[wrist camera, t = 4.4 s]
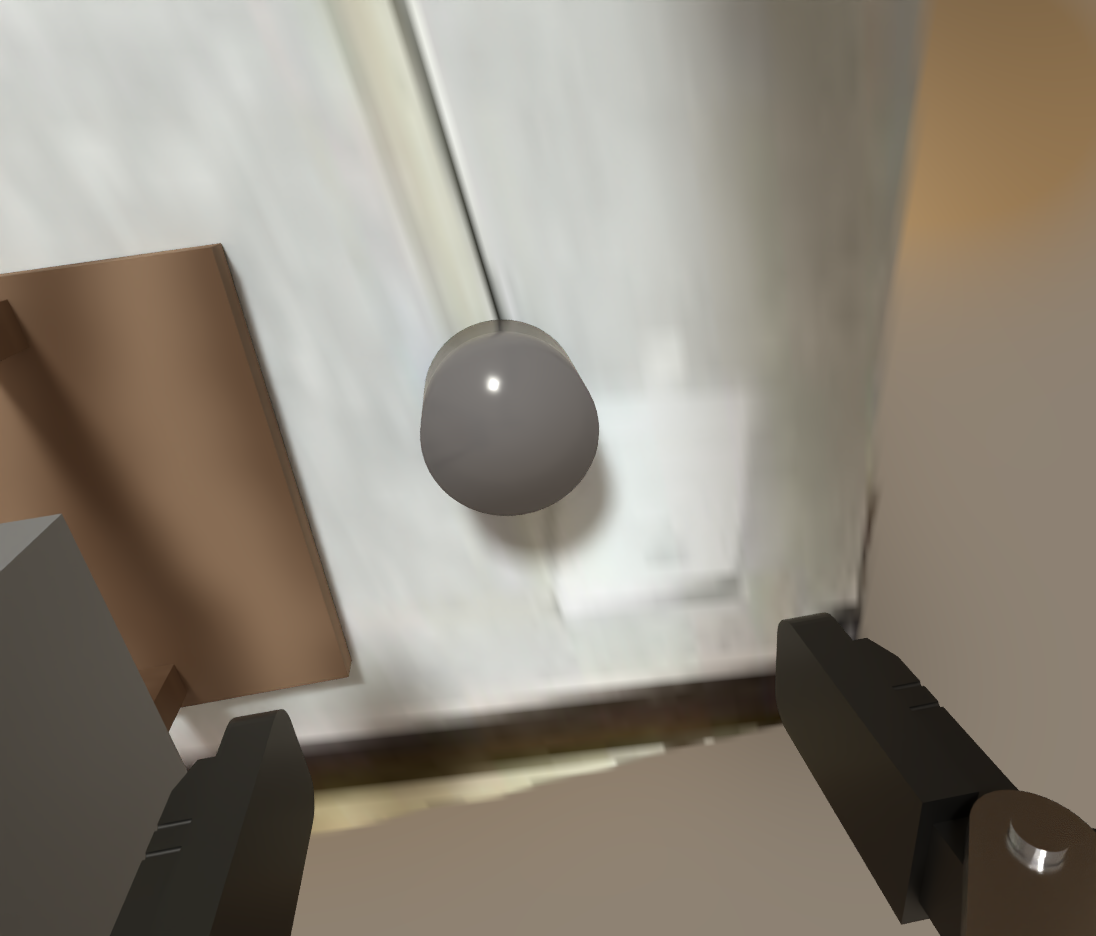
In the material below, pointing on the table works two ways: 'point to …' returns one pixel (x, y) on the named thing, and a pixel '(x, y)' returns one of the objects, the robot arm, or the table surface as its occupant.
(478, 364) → the stubby grey cylinder
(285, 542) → the trapdoor stand
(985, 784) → the robot arm
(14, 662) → the trapdoor
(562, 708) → the table surface
